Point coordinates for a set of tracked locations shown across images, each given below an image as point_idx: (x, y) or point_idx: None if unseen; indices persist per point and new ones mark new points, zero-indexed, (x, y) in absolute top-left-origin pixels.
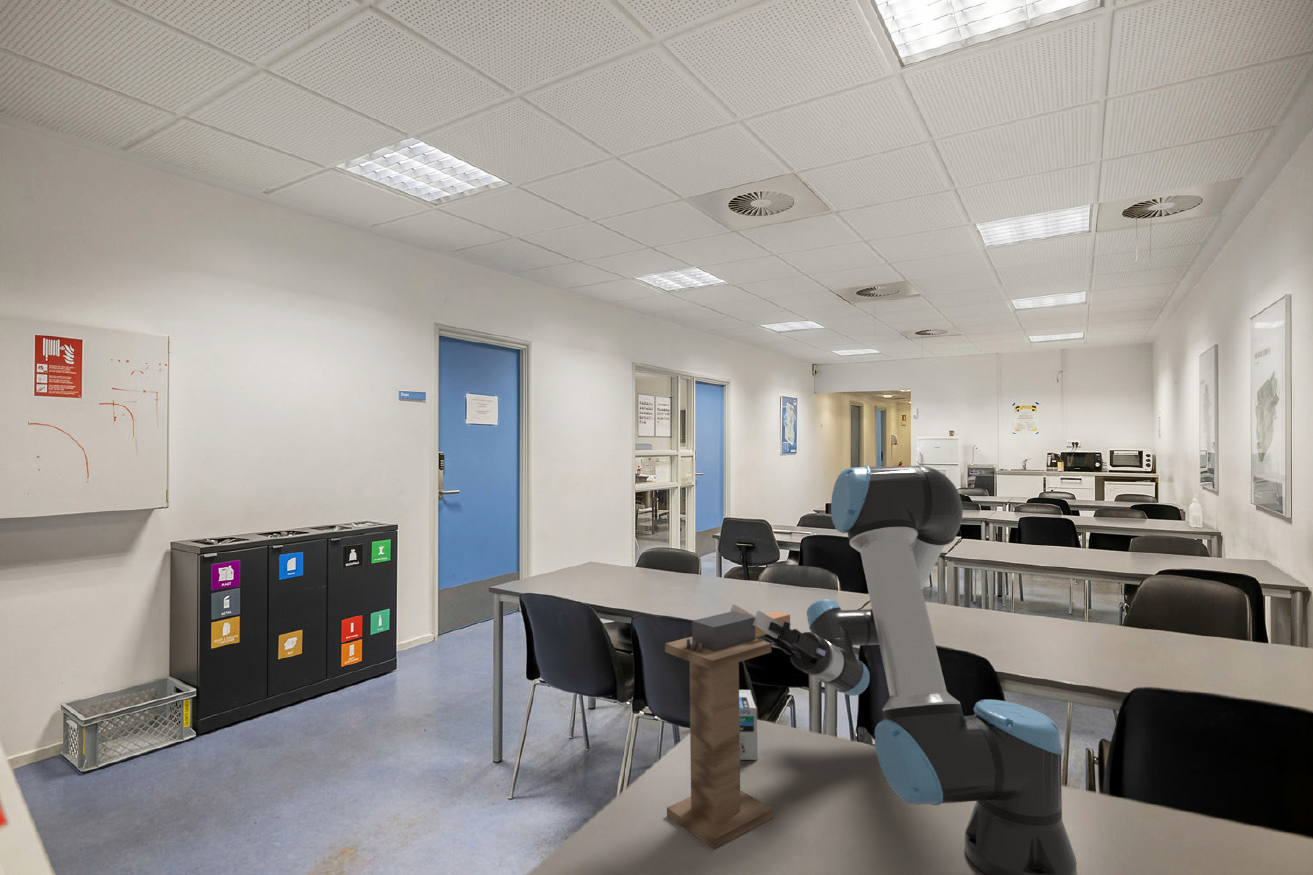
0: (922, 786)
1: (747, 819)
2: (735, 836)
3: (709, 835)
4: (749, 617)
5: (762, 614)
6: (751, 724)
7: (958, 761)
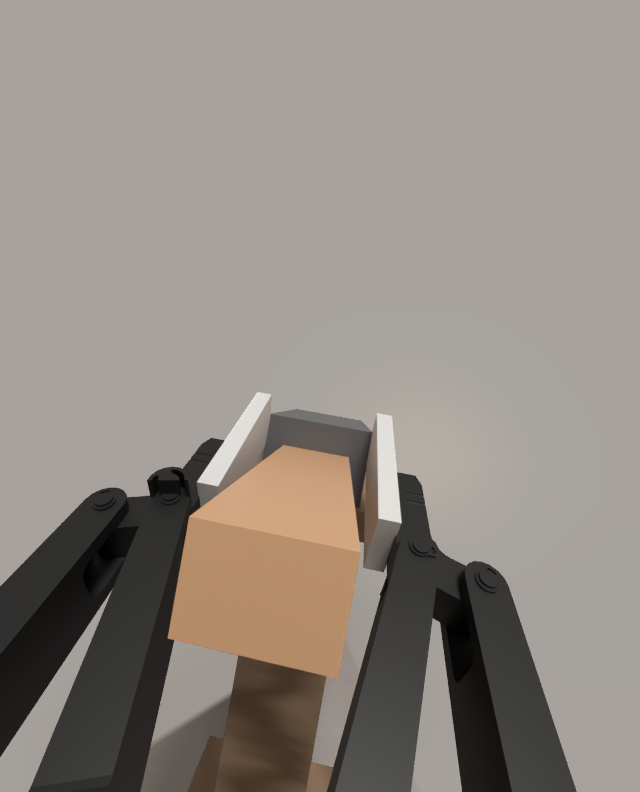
0: None
1: None
2: None
3: (221, 739)
4: (282, 414)
5: (252, 404)
6: None
7: None
